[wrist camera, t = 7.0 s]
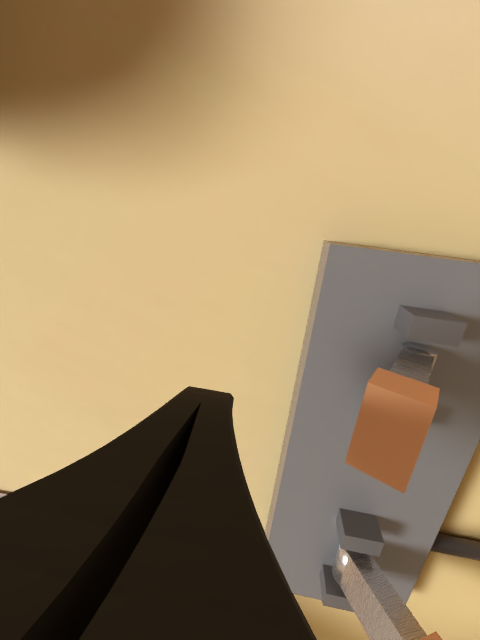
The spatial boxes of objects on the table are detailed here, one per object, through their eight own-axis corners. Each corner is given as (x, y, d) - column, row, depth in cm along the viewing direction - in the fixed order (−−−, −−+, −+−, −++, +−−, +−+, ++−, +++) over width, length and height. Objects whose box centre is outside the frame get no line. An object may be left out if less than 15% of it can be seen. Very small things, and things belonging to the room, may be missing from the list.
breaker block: (260, 554, 22) (257, 615, 19) (323, 240, 15) (336, 247, 12) (492, 604, 21) (533, 678, 18) (679, 286, 14) (808, 309, 10)
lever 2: (322, 570, 18) (411, 734, 13) (333, 533, 17) (434, 693, 12) (347, 561, 19) (442, 713, 13) (359, 526, 18) (466, 674, 12)
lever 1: (384, 389, 15) (344, 462, 10) (401, 332, 14) (367, 382, 9) (425, 404, 14) (404, 493, 9) (446, 344, 13) (436, 408, 8)
